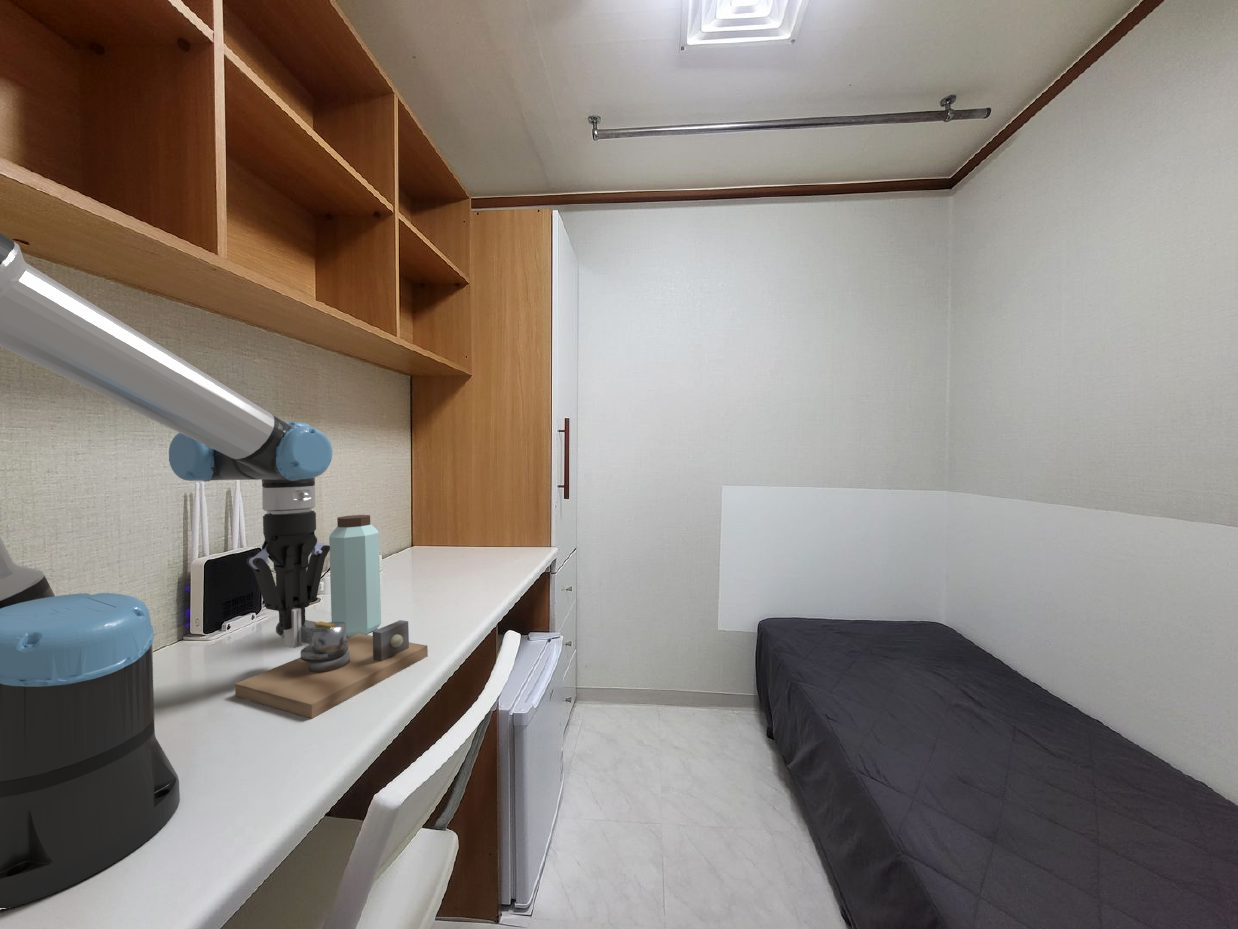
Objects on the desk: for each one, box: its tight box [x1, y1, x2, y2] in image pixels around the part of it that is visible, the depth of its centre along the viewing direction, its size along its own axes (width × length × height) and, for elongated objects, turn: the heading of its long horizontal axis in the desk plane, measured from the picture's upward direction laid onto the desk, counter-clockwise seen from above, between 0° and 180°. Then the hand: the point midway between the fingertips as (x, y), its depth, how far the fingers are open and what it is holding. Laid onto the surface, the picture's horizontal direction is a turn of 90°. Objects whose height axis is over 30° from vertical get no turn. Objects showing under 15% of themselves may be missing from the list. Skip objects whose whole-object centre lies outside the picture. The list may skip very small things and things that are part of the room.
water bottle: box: [328, 514, 382, 639], centre depth 100 cm, size 10×10×25 cm
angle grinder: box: [275, 619, 348, 662], centre depth 81 cm, size 16×7×5 cm, turn 67°
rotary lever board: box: [234, 619, 429, 719], centre depth 80 cm, size 22×18×7 cm
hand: (293, 645), depth 80 cm, fingers closed
